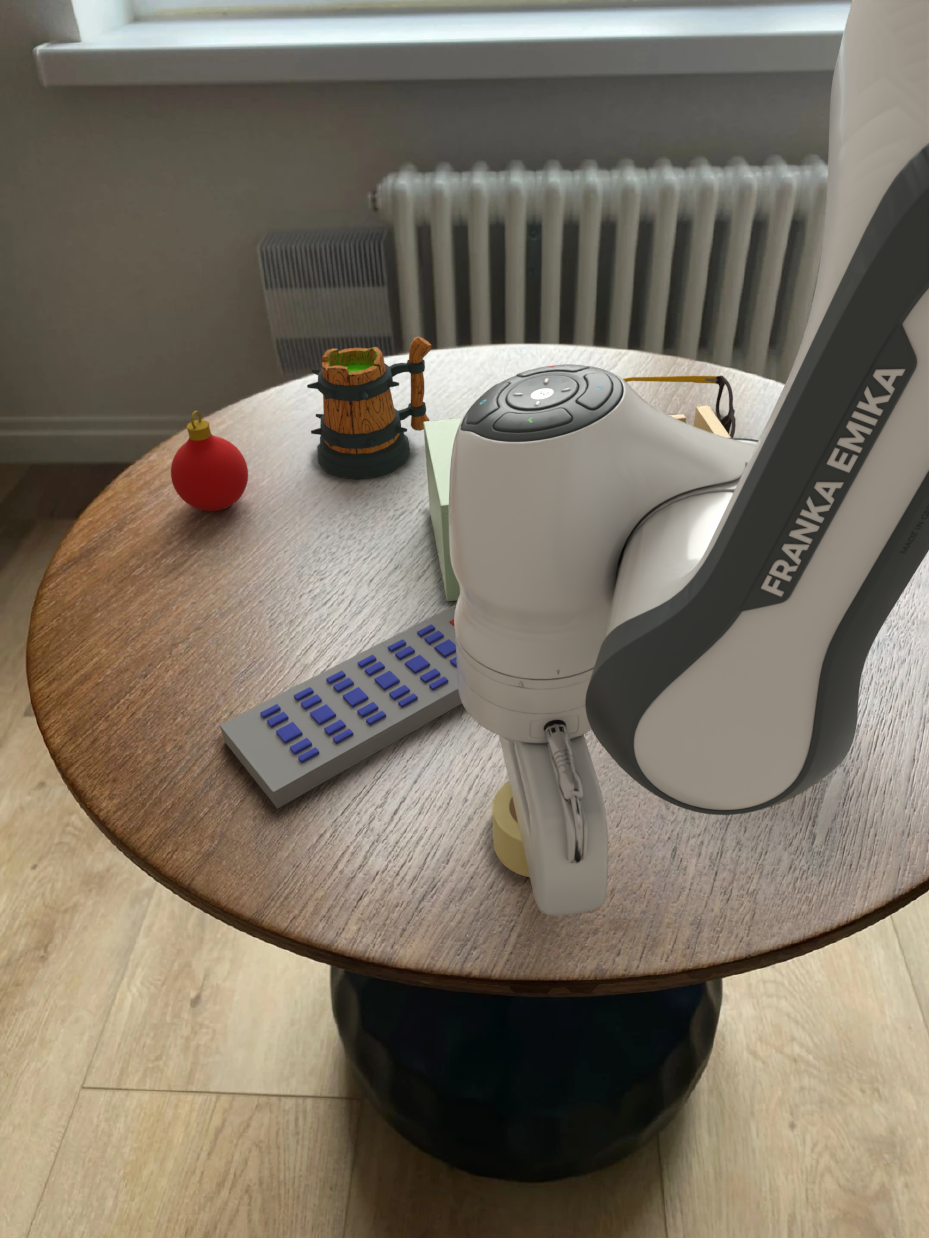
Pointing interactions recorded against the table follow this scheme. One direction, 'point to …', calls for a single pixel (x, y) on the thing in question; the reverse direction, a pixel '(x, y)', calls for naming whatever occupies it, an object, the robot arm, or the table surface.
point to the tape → (508, 832)
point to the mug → (366, 410)
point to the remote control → (348, 710)
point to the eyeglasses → (702, 379)
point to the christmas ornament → (208, 469)
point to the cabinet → (441, 493)
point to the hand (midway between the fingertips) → (536, 824)
